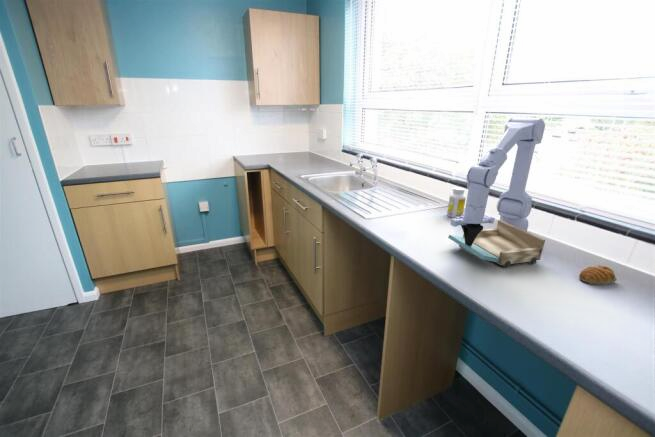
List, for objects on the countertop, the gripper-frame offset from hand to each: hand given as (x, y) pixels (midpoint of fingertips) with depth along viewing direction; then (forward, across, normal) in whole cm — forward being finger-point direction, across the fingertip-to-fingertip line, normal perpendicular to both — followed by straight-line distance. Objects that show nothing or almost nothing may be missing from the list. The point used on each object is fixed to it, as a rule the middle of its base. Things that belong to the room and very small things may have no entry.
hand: (468, 245), depth 101 cm
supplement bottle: (+4, -23, -37) cm, 44 cm away
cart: (+4, -13, 0) cm, 13 cm away
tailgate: (+1, -5, 0) cm, 5 cm away
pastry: (+5, -28, +21) cm, 35 cm away
